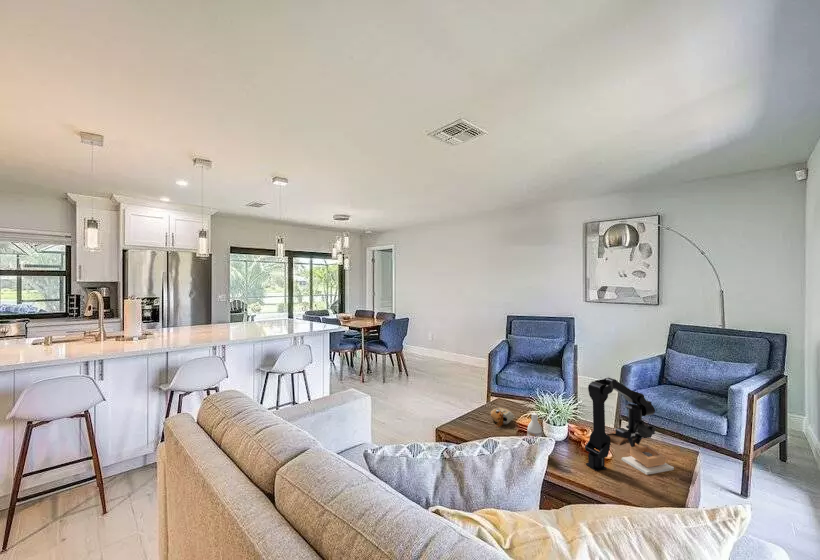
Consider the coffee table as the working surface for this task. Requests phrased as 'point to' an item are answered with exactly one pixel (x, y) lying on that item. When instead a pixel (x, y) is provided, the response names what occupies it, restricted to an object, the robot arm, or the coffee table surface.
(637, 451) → the orange link
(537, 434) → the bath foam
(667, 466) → the board
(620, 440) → the sunglasses case
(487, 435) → the coffee table surface
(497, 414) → the nautilus
